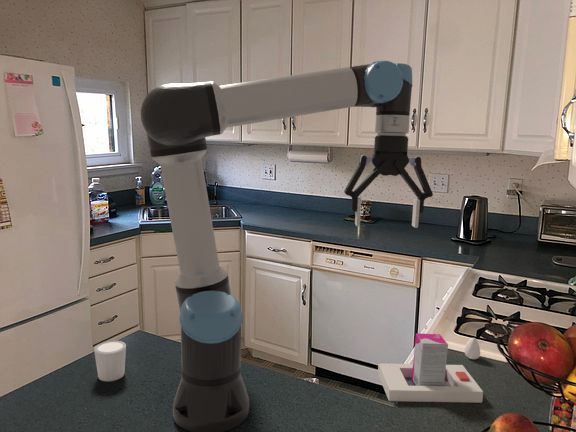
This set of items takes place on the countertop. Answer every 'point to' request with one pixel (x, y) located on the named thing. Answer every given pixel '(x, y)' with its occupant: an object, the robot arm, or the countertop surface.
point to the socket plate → (454, 390)
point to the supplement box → (429, 360)
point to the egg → (472, 349)
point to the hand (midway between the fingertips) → (386, 226)
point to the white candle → (110, 360)
